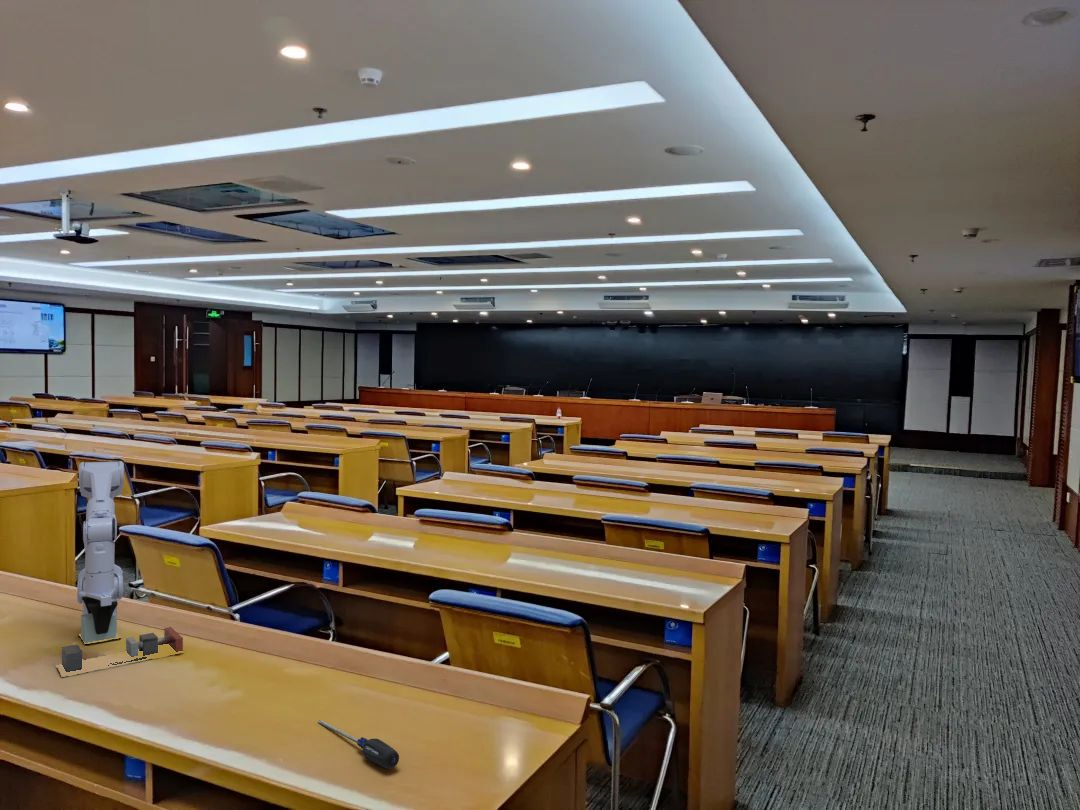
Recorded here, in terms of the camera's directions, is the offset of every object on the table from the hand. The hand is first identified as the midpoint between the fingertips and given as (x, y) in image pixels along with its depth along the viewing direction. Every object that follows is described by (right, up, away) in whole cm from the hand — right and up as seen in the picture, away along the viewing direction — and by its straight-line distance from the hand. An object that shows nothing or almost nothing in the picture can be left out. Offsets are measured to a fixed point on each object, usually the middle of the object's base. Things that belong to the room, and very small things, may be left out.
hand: (99, 630), depth 170 cm
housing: (0, -2, 0) cm, 2 cm away
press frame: (+3, -8, +3) cm, 9 cm away
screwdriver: (+66, -11, -35) cm, 76 cm away
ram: (+8, -7, +8) cm, 13 cm away
